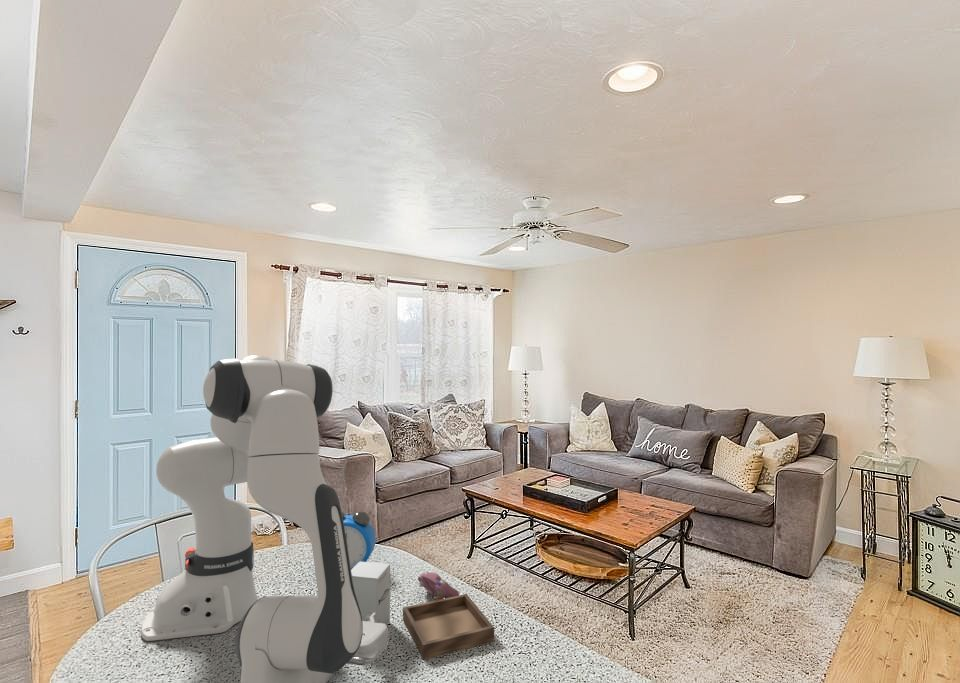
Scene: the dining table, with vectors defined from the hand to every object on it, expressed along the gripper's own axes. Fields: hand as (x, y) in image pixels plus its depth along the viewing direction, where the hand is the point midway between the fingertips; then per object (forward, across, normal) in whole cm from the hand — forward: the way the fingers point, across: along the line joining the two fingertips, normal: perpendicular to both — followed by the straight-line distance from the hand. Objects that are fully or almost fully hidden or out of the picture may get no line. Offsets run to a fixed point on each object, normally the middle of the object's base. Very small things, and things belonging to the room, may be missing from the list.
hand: (350, 613), depth 98 cm
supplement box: (+8, 0, +8) cm, 11 cm away
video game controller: (+24, -11, +8) cm, 27 cm away
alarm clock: (+34, +17, +8) cm, 38 cm away
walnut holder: (+11, -16, +7) cm, 21 cm away
